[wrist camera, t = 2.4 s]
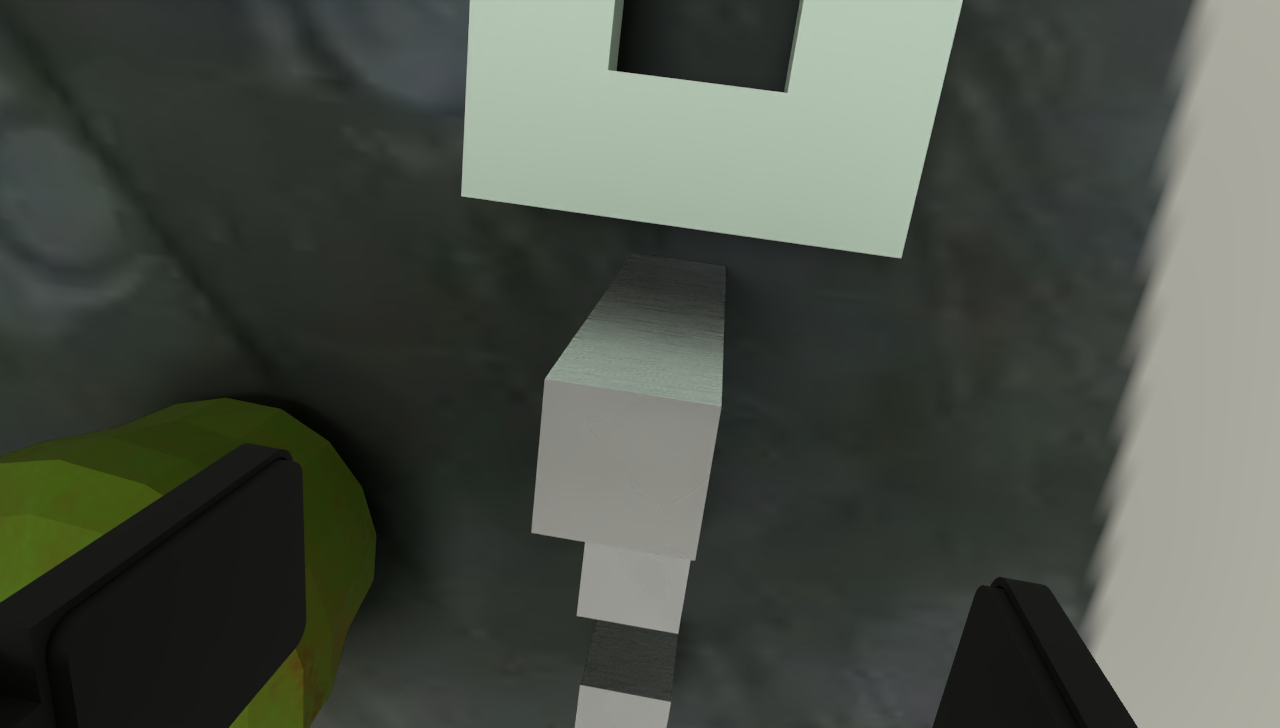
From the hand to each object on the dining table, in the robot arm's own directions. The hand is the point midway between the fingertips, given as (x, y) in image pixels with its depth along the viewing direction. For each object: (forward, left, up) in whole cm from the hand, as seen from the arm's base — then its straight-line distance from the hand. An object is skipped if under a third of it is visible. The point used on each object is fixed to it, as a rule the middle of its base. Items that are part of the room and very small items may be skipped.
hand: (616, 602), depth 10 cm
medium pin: (-6, -4, -17) cm, 18 cm away
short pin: (-12, -8, -17) cm, 22 cm away
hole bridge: (+8, +5, -17) cm, 19 cm away
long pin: (0, 0, -17) cm, 17 cm away
